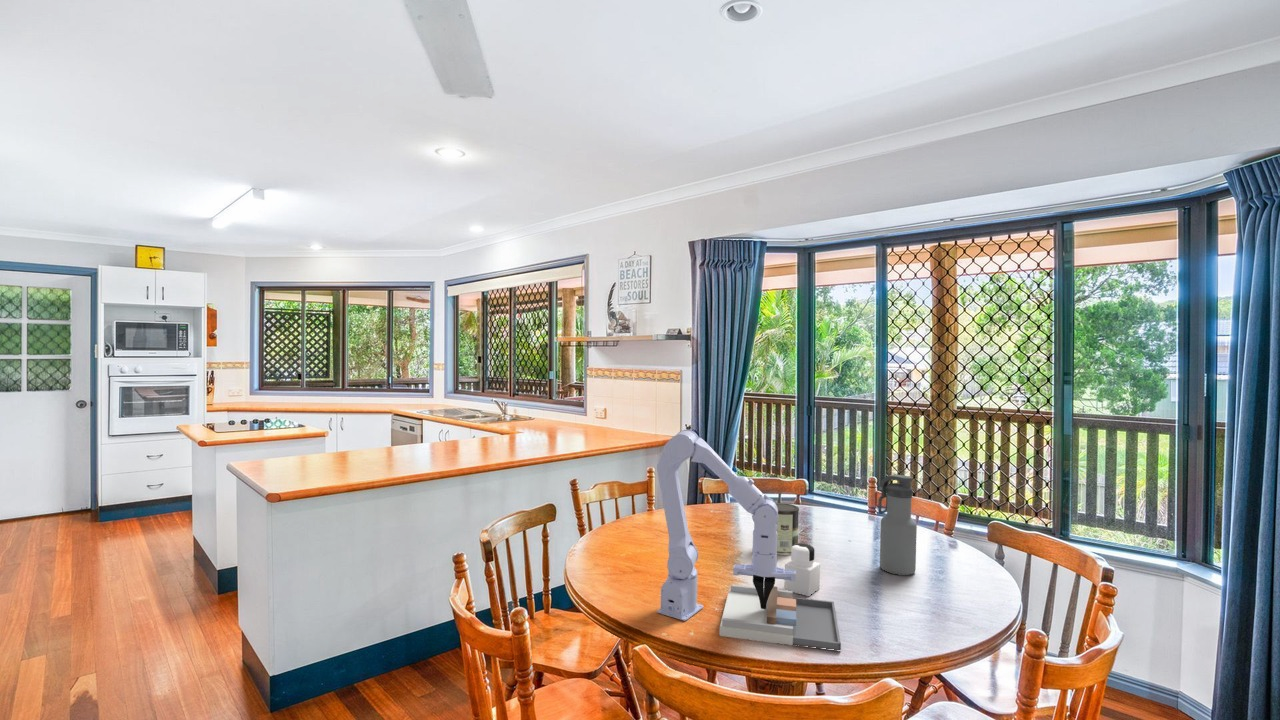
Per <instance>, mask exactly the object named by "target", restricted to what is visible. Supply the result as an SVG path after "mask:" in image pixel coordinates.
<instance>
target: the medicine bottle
mask: <svg viewBox="0 0 1280 720" xmlns="http://www.w3.org/2000/svg"><path fill="white" fill-rule="evenodd" d="M815 551H816V550H815V547H813V546H812V545H810V544H808V543H800V542H798V544H794V545H793V546H792V547H791V555H790V559H791V560H789V561H788V562H786V563H784V569H787V570H792V571H796V579H795V582H792V581H791V580H784V582H783V583H784V589H783V590H786V591H787V590H788V591H793V593H794V592H795V593H794V594H798V595H801V594H802V596H804V595H806V596H805V597H808V596H809V597H810V596H812V595H813V594H814V593H816V592H817V591H818V590H820V588H821V587H820V586H821V584H820V583H821V581H820V580H821V571H820V570H821V563H819V562H816V561H815ZM815 591H816V592H815ZM811 594H812V595H811Z"/></svg>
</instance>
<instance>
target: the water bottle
mask: <svg viewBox="0 0 1280 720" xmlns="http://www.w3.org/2000/svg"><path fill="white" fill-rule="evenodd" d="M890 481H898V482H893V483H889V482H890ZM912 482H913V477H912V476H909V475H903V474H895V473H894V474H890V475H887V476H885V477H883V478H882V479H881V481H880V482H879V488H878V489H879V490H880V491H881V494H880V497H879V498H878V508H877V509H878V510H877V511H878V514H880V515H882V514H885V513H886V515H883V516H882V518H881V519H880V542H879V567H880V569H881V570H883V571H884V570H885V572H886V571H887V572H886V573H888V572H890V573H889V574H891V573H893V574H892V575H895V574H900V575H899V576H903V575H904V576H910V574H911V575H913V574H915V572H916V567H917V566H916V565H917V562H916V561H917V535H918V534H917V528H918V525H917V524H918V523H917V522H916V521H915V520H914V519H913V518H912V499H913V492H914V490H913V489H914V488H913V487H912ZM883 499H885V500H886V501H885V508H884V509H883V510H882V501H883Z"/></svg>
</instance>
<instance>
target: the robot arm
mask: <svg viewBox="0 0 1280 720" xmlns="http://www.w3.org/2000/svg"><path fill="white" fill-rule="evenodd" d="M691 457H692V458H691ZM690 458H691V460H690V461H691V462H693V463H699V464H704V465H705V466H706V467H708V469H709V470H711V472H713V473H714V474H715V475H716V476H717V477H718V478H719V479H721V481H723V483H725V484H726V485H727V487H728V494H729V495H730V496H731V497H732V498H733V499H734V500H735V501H736V502H737V503H738V504H739V505H740V507H742V508H743V509H744V510H745V511H746V512H747V513H750V514H751V517H752V521H753V530H752V558H751V559H752V563H751V564H733V567H732V568H733V572H732V573H733V576H748V577H752V584H753V587H755V588H756V591H757V593H758V596H759V600H760V606H761V609H766V604H767V600H768V597H769V595H770V592H771V590H772V589H773V587H774V586H775V584H776V580H783V581H785V580H791V581H792V582H795V579H796V571H792V570H787V569H785V568H782V567H777V565H778V563H777V561H778V560H777V559H778V555H777V531H776V530H777V524H776V523H777V521H778V508H777V505H776V504H775V503H776V502H775V501H774V499H773V498H771V497H769V495H768V494H767V493H765V494H764V493H763V492H762V491H761V490H760V489H759V488H757V486H755V480H753V479H752V478H751V477H750V478H748V477H747V476H744V475H743V476H741V475H737V473H735V471H734V470H733V469H731V467H730V466H729V465H728V464H727V463H726V462H725V461H724V459H722V458H721V457H720V455H719V454H718V453H717V452H716V451H715V450H714V449H713V448H712V447H711V446H710V445H709V444H708V443H707V442H706V441H705V440H704V439H703V438H702V437H699V435H698V434H697V433H696V432H695V431H693V430H691V429H683V430H680V431H678V432H677V433H676V434H675V435H674V436H671V438H670V439H669V440H668V441H667V442H666V443H665V444H664V446H663V450H662V452H661V454H660V457H659V460H658V463H657V464H656V471H657V478H658V481H659V488H660V493H661V500H662V504H663V510H664V516H665V521H666V527H667V532H668V547H667V548H668V549H667V550H668V559H667V562H666V563H667V564H666V567H667V569H668V570H667V571H668V572H667V573H668V574H667V578H666V580H665V581H664V582H663V583H662V585H661V587H660V607H659V609H657V613H658V614H661V615H665V616H667V617H670V618H674V619H678V620H680V621H683V622H684V621H685V622H686V621H687V620H689V619H690V618H691V617H693V616H694V615H695V614H698V612H700V611H701V610H702V609H703V608H704V605H703V604H701V603H698V570H697V569H696V567H695V564H696V562H697V561H698V559H699V550H698V548H697V547H696V545H695V544H694V541H693V538H692V535H691V533H690V532H689V527H688V521H687V516H686V510H685V504H684V503H685V502H684V499H683V494H682V488H681V487H682V486H681V481H680V476H679V469H680V467H681V466H682V465H683V463H684V462H685V461H687V460H688V459H690Z"/></svg>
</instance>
